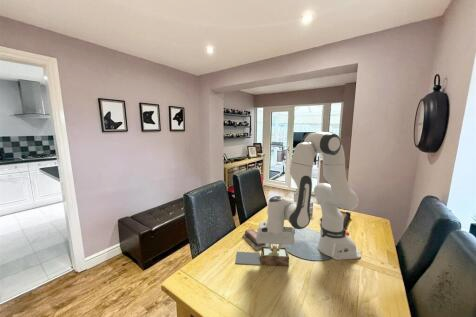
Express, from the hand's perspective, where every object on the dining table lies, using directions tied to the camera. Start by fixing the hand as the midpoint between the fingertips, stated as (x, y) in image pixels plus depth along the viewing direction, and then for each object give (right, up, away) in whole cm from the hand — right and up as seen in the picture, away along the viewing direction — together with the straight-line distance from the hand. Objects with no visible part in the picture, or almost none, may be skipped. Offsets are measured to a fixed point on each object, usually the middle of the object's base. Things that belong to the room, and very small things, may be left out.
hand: (274, 250), depth 107 cm
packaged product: (-9, -4, +19) cm, 21 cm away
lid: (0, -2, 0) cm, 2 cm away
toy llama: (+36, +3, +62) cm, 72 cm away
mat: (-14, -5, +2) cm, 16 cm away
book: (+56, +1, +46) cm, 73 cm away
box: (0, -6, +1) cm, 6 cm away
